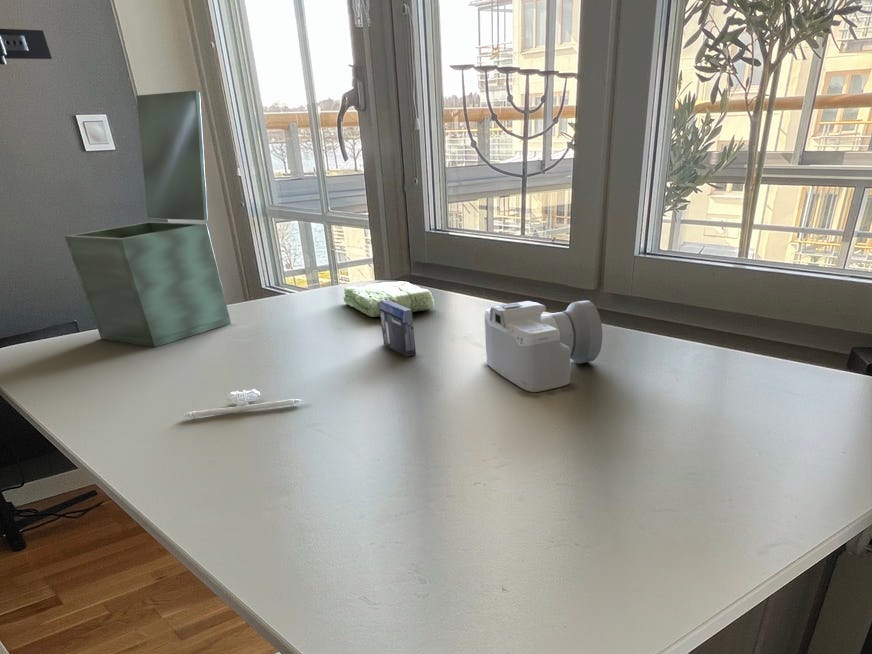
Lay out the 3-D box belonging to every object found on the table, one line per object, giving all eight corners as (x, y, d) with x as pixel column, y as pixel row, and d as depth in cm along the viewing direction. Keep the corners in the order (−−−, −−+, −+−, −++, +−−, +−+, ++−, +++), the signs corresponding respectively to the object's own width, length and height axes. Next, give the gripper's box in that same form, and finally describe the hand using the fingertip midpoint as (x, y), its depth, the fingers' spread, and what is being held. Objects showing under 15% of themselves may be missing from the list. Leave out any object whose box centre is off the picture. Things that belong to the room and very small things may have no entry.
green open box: (155, 347, 110) (120, 239, 101) (100, 338, 116) (64, 236, 107) (231, 323, 121) (206, 223, 112) (178, 316, 127) (150, 221, 118)
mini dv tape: (383, 344, 105) (378, 301, 102) (392, 342, 106) (388, 299, 102) (406, 356, 100) (401, 311, 96) (415, 354, 100) (411, 309, 97)
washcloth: (406, 292, 134) (404, 274, 132) (439, 310, 121) (437, 290, 119) (340, 302, 130) (337, 283, 128) (367, 321, 117) (364, 301, 115)
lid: (195, 90, 104) (199, 91, 105) (135, 95, 110) (140, 96, 111) (203, 220, 111) (207, 220, 112) (147, 217, 117) (151, 218, 118)
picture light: (184, 419, 83) (178, 402, 81) (187, 408, 86) (181, 390, 85) (302, 404, 85) (299, 387, 84) (301, 393, 88) (297, 377, 87)
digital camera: (612, 411, 89) (628, 335, 81) (505, 420, 87) (511, 342, 79) (575, 347, 99) (586, 274, 92) (478, 353, 97) (482, 279, 89)
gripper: (-199, 94, 83) (-23, 90, 97) (-97, 83, 73) (85, 80, 87) (-242, 10, 79) (-51, 19, 93) (-139, -15, 68) (60, -1, 82)
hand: (15, 49), depth 90 cm, fingers open, 13 cm apart
